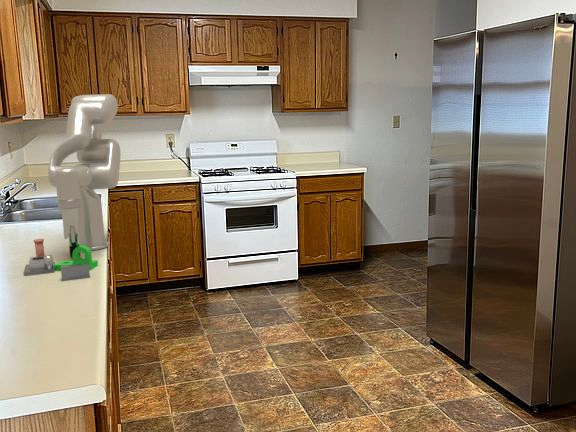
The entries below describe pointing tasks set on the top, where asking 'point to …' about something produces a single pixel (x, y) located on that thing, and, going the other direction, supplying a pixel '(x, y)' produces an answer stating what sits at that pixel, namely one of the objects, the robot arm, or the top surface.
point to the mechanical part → (79, 259)
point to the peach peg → (39, 247)
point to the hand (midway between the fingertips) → (75, 256)
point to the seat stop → (75, 271)
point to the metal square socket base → (39, 265)
